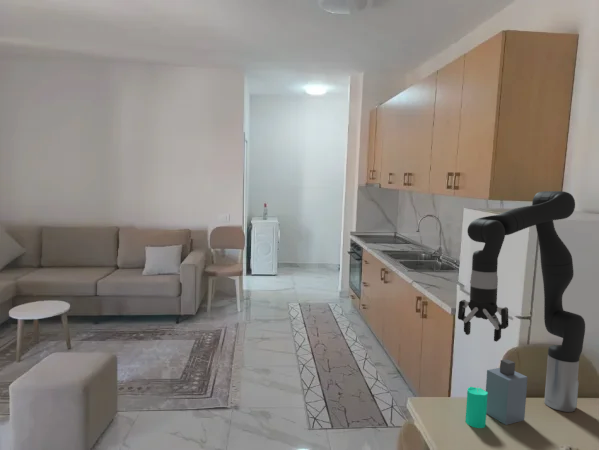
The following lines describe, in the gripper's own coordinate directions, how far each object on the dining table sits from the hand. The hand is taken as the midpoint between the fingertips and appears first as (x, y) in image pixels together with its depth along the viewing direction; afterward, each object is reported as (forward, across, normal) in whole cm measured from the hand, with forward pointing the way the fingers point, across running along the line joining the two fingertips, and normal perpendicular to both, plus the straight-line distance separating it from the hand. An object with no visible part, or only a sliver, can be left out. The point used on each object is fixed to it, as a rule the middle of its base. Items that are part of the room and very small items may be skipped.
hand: (481, 337), depth 129 cm
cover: (+29, -4, -13) cm, 32 cm away
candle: (+29, +1, -2) cm, 29 cm away
